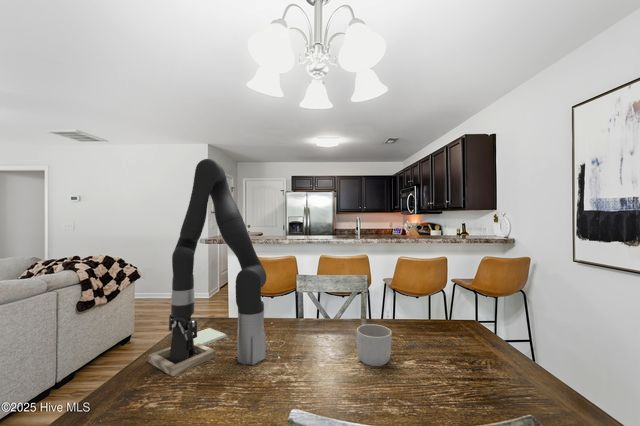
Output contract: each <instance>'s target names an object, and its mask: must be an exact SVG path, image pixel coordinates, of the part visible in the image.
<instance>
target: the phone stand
mask: <svg viewBox="0 0 640 426" xmlns="http://www.w3.org/2000/svg"><path fill="white" fill-rule="evenodd" d="M172 327H173V326H172ZM187 330H189V328H188V329H187ZM187 330H185V331H187ZM187 334H188V336H189V333H187ZM171 335H172V337H171V343H170V347H171V350H170V356H169V357H168V358H169V359H168V361H170V362H172V363H174V364H177V363H179V362H182V361H184V360H187V359H189V358H191V357H194V356H195V355H196V352H195V349H194V341H193V348H192V349H191V350H189V351H187V350H186V338H185V335H183V334H182V331H181V329H180V327H173V330H172V333H171Z"/></svg>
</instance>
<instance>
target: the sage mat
mask: <svg viewBox="0 0 640 426" xmlns="http://www.w3.org/2000/svg"><path fill="white" fill-rule="evenodd" d="M193 334H194V332H193ZM223 338H224V339H225V338H227V333H224V332H221V331H218V330H216V329H213V328H211V327H208V328H205V329H202V330H199V331H197V338H194V339H193V341H195V342H197V343H200V344H202V345H204V346H206V345H208V344H209V345H210V344H211V343H213V342H217V341H219V340H222V339H223Z"/></svg>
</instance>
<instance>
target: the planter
mask: <svg viewBox="0 0 640 426" xmlns="http://www.w3.org/2000/svg"><path fill="white" fill-rule="evenodd" d="M392 334H393V332H392V330H391V329H390V328H388V327H386V326H384V325H381V324H373V323H372V324H371V323H369V324H362V325H359V326H358V327H357V328H356V348H357V356H358V358H359V360H360V361H361V362H362V363H364V364H365V365H367V366H370V367H381V366H384V365H386V364H388V362H389V361H390V359H391V352H392Z"/></svg>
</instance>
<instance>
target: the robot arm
mask: <svg viewBox="0 0 640 426" xmlns="http://www.w3.org/2000/svg"><path fill="white" fill-rule="evenodd" d="M210 198H211V200H212V203H213V210H214V217H215V222H216V225H217V228H218V230H219V232H220V234H221V237H222V239H223V241H224V242H225V243H226V245H227V246H228V248H230V250H231V251H232V252H233V254H234V256H235V257H236V258H237V261H238V264H239V265H240V269H241V270H240V271H239V272H238V273H237V274H236V279H235V302H236V307H237V344H236V345H237V352H236V353H237V362H238V363H240V364H243V365H251V366H252V365H256V364H257V363H259V362H261V361H264V360H265V359H266V343H267V342H266V336H267V335H266V331H264V326H265V324H264V322H265V315H264V314H265V303H264V302H263V301H262V288H263V287H264V286H265V284H266V282H267V273H266V270H265V268H264V266H263V264H262V263H261V260H260V259H259V257H258V255H257V253H256V251H255V248H254V245H253V242H252V239H251V237H250V234H249V232H248V229H247V226H246V224H245V221H244V218H243V216H242V215H241V212H240V210H239V207H238V205H237V204H236V202H235V199H234V198H233V196H232V193H231V190H230V186H229V183H228V180H227V175H226V172H225V170H224V167H222V166H221V165H220V163H218V162H217V161H216V160H214V159H212V158H203V159H202V160H200V161H199V162H198V163H197V164H196V167H195V170H194V176H193V184H192V190H191V195H190V200H189V203H188V206H187V211H186V213H185V217H184V219H183V221H182V222H183V223H182V225H181V229H180V232H179V237H178V240H177V243H176V245H175V248H174V250H173V252H172V256H171V260H172V261H171V264H172V265H171V267H172V281H171V283H172V285H171V287H172V289H171V298H170V299H171V300H170V301H171V302H170V304H171V305H170V307H171V308H170V310H171V311H170V314H169V316H168V317H169V318H168V332H170V333H171V334H172V330H173V327H180V329H181V331H182V334H183V335H185V338H186V350H187V351H189V350H191V349H192V348H193V339H194V338H197V332H198V321H197V320H196V319H194V320H192V315H194V314H195V287H194V285H195V278H194V277H195V276H194V265H195V253H196V250H197V245H198V242H199V239H200V238H201V236H202V233H203V230H204V227H205V223H206V218H207V213H208V202H209V199H210ZM188 328H189V330H187V329H188ZM185 330H187V331H185ZM187 333H189V336H188V334H187ZM193 333H194V334H193Z"/></svg>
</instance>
